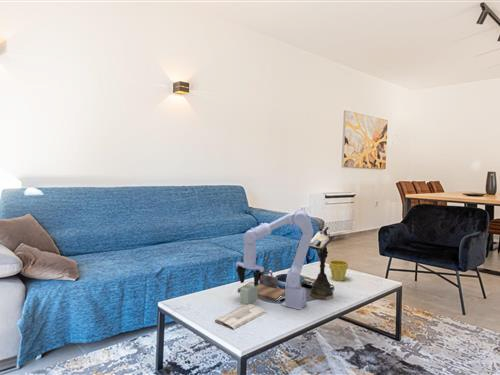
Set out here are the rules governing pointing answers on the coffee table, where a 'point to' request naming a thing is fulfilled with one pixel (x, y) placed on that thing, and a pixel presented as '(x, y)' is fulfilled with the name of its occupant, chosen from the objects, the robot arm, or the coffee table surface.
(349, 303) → the coffee table surface
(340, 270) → the plant pot
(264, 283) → the shelf board
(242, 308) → the newspaper
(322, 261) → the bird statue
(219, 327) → the coffee table surface
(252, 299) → the pale green rectangular block
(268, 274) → the game card
